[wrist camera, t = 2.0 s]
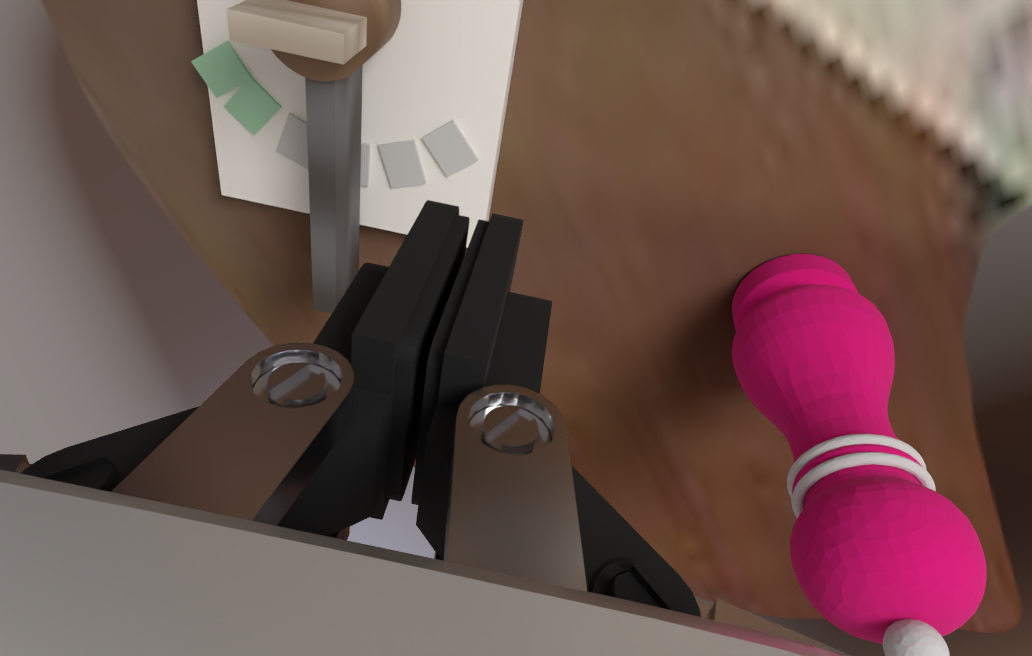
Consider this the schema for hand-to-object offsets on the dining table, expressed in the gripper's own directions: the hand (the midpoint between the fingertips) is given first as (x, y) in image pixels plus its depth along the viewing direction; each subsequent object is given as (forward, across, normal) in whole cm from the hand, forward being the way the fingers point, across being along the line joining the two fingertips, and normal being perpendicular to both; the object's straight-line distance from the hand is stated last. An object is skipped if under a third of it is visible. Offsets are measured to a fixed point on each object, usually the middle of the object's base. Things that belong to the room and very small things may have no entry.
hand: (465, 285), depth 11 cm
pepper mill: (+22, -15, +11) cm, 29 cm away
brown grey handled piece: (+20, +9, +6) cm, 22 cm away
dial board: (+22, +9, +3) cm, 23 cm away
